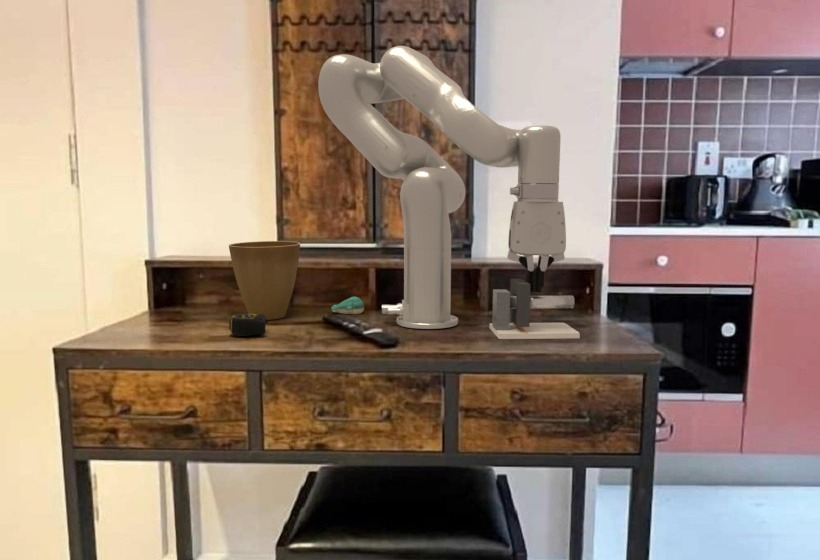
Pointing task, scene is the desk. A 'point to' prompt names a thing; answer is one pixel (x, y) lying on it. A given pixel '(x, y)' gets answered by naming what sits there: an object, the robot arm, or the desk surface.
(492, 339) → the desk surface
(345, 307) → the whale figurine
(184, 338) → the desk surface
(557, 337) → the groove board
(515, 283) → the dark grey holed plate
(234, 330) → the tape measure
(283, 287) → the plant pot
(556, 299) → the rod with grey supports
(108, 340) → the desk surface
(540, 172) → the robot arm
